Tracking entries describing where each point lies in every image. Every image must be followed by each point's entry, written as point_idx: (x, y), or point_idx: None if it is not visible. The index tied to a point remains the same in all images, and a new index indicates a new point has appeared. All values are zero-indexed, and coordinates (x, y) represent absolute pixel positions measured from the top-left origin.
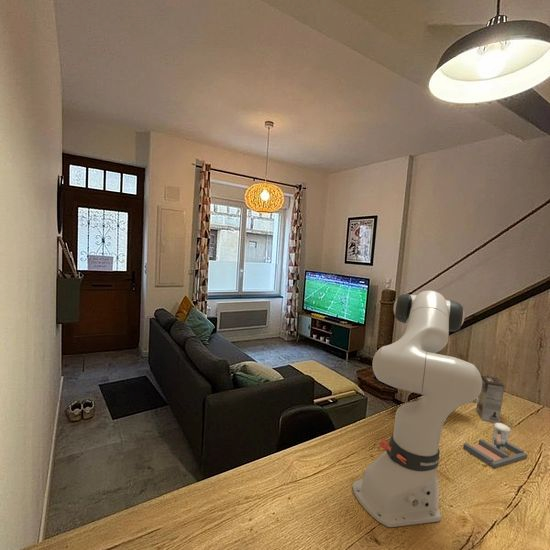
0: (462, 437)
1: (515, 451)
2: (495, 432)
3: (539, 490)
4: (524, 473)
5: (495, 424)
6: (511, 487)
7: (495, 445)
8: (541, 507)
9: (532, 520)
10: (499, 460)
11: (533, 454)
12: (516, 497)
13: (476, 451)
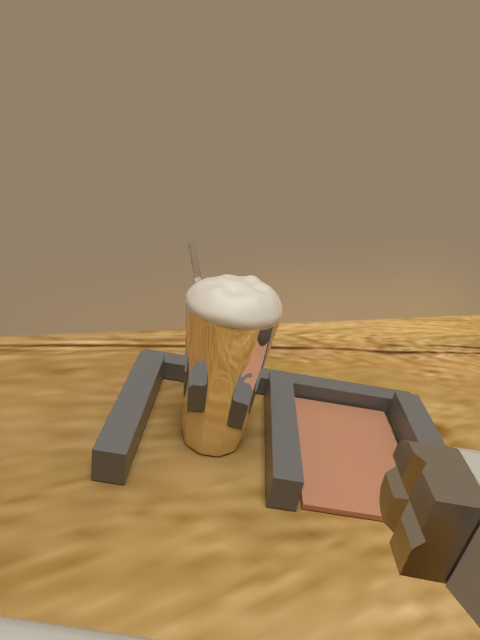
0: (346, 624)
1: (158, 382)
2: (267, 351)
3: (330, 328)
4: (289, 355)
5: (264, 310)
6: (421, 361)
7: (245, 420)
8: (396, 322)
9: (465, 327)
10: (351, 390)
11: (69, 357)
12: (442, 350)
13: (443, 443)
